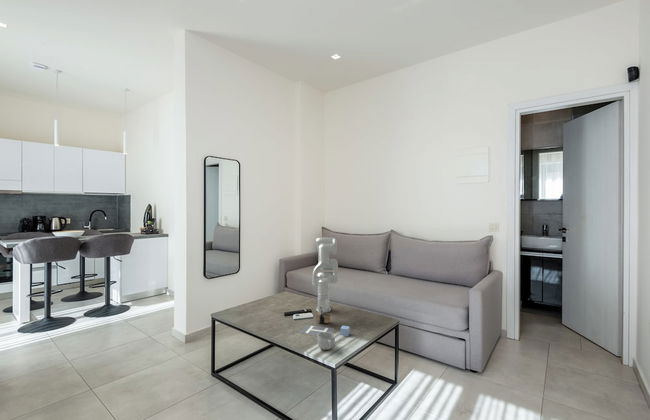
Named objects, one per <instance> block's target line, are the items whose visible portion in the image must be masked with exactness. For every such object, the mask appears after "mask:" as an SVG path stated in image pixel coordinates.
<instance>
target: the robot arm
mask: <svg viewBox="0 0 650 420" xmlns="http://www.w3.org/2000/svg"><path fill="white" fill-rule="evenodd" d="M337 242H338V241H337V239H336V237H326V236H325V237H317V238H316V239H315V246H316V249H317V250H316V251H317V254H318V257H317V260H318V262H317V264H316V266H315V267H314V268H313V270H312V275H311V278H312V279H311V280H312V281H311V283H312V286H313V287H315V288H316V287H317V306H316V308H315V311H316V312H317V314H318V313H319V312H320V313H319V315H320V322H319V323H325V322H324V313H329V312H331V311H332V308H331V307H330V286H331V285H335V284H337V283H338V282H339V263H338V262H339V261H338V260H337V259H335V258H330V255H331V256H332V255H336V254H337V251H338V245H337V244H338V243H337ZM319 270H321V272H318V271H319ZM317 272H318V273H317ZM322 313H323V314H322Z"/></svg>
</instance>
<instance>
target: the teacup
mask: <svg viewBox="0 0 650 420" xmlns="http://www.w3.org/2000/svg"><path fill="white" fill-rule="evenodd" d="M335 343H336V334H335V333H333V332H332V333H330V332H321V333H319V334H318V335H317V346H318V347H319V348H320V349H321V350H325V351H326V350H327V351H328V350H331V349H332V348H334V347H335Z"/></svg>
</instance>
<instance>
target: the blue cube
mask: <svg viewBox="0 0 650 420" xmlns="http://www.w3.org/2000/svg"><path fill="white" fill-rule="evenodd" d="M341 335H343V337H347V336H348V337H349V335H350V326H348V325H347V326H346V325H341V327H340V336H341Z"/></svg>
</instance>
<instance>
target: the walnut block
mask: <svg viewBox="0 0 650 420" xmlns="http://www.w3.org/2000/svg"><path fill="white" fill-rule="evenodd" d="M319 313H320V312H319ZM319 313H318V312H317V313H316V315H315V317H316V318H315V320H316V321H315V322H318V323H321V322H320V315H319ZM322 314H323V313H322ZM330 321H331V313H329V312H327V313H324V322H323V323H326V324H329V322H330Z"/></svg>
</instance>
